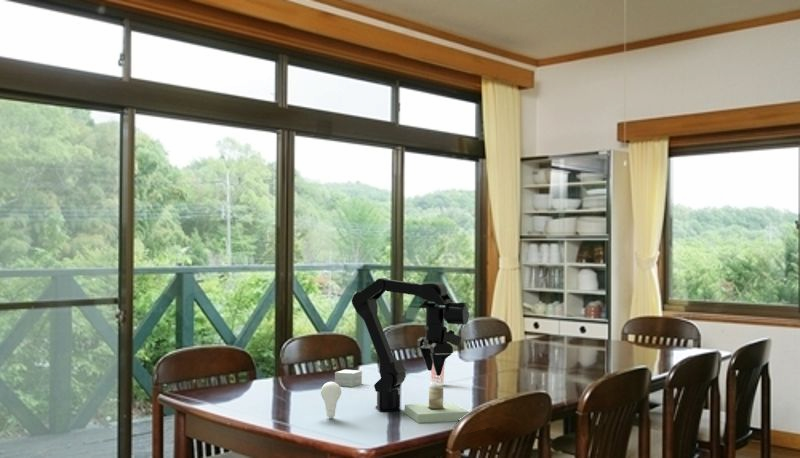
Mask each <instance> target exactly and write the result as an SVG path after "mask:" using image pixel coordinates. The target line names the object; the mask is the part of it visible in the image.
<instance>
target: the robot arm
mask: <svg viewBox="0 0 800 458" xmlns="http://www.w3.org/2000/svg"><path fill="white" fill-rule="evenodd" d="M385 292H390V293H391V292H392V293H398V294H405V295H409V296H410V295H411V296H415V297H417V298H420V299H421V300H424V302H423V303H421V304H420V305H419V308H420V309H425V324H424V325H423V329H424V330H425V336H420V337H419V338H418V339H417V343H416V346H417V347H418V350H419V352H420V354H421V356H422V359H423V361H424V363H425V366H426V368H427V371H429V372H431V370H432V365H434V368H435V371H436V374H437V376H440V375H441V372H442V368H443V365H444V362H445V363H446V359H447V358H448V357H450V356H451V355H452V354H454V346H456V347H460V345H461V342H462V339H463V336H460V335H456V334H455V330H451V329H450V328H447V327H446V326H445V322H446V323H447V324H449V325H465V326H466V325H467V324H468V323H469V318H470V313H469V309H468V306H467V302H462V301H461V302H454V301H453V299H452V298H451V296H450V295H449V294H448V291H447V287H446V286H445V284H444V283H442V282H423V283H417V282H410V281H402V280H397V279H396V280H395V279H388V278H386V277H382V278H381V277H380V278H377V279H375V281H373V282H372V283H370V285H368V286H366V287H365V288H363V289H362V290H361V291H357V292H355V293H354V294H353V296H352V298H351V305H352V306H353V308H354V310H355V312H356V313H357V315H358V316H359V317H360V318H361V319H362V320H363V321H364V324H365V327H366V329H367V332H368V335H369V337H370V339H371V342H372V344H373V348H374V351H375V353H376V355H377V357H378V358H377V359H378V361H379V371H378V372H379V375H380V378H379V379H378V380H377V381H376V382H375V384H373V387H374V391H375V392H376V405H375V408H376V409H377V410H378V411H379V412H395V411H396V412H397V411H400V409H401V407H400V406H401V404H400V403H401V401H400V400H401V395H400V394H399V390H398V389H400V387H401V385H402V384H403V383H404V381H405V380H406V378H407V377H406V372H407V369H406V368H405V366H404V363H403V360H402V359H397V358H396V357H395V356H394V354H393V351H392V349H391V347H390V344H389V342H388V339H387V335H386V334H385V331H384V329H383V326H382V323H381V321H380V318H379V316H378V307H379V305H378V302H377V301H378V300H379V299H380V298H381V297H382V296H383V294H384V293H385ZM453 345H454V346H453Z"/></svg>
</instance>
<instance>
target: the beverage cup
mask: <svg viewBox="0 0 800 458" xmlns="http://www.w3.org/2000/svg"><path fill="white" fill-rule="evenodd" d="M445 366H446V361H445V362H444V365H443V368H442V372H441V375H440V376H437V374H436V371H435V368H434V365H432V370H431V371H430V383H431V386H435V385H436V386H439V387H442V386H444V378H445Z"/></svg>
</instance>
